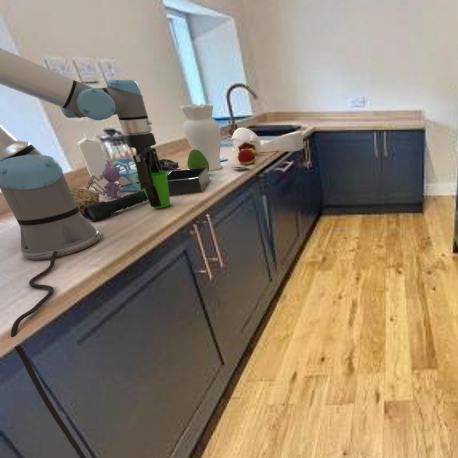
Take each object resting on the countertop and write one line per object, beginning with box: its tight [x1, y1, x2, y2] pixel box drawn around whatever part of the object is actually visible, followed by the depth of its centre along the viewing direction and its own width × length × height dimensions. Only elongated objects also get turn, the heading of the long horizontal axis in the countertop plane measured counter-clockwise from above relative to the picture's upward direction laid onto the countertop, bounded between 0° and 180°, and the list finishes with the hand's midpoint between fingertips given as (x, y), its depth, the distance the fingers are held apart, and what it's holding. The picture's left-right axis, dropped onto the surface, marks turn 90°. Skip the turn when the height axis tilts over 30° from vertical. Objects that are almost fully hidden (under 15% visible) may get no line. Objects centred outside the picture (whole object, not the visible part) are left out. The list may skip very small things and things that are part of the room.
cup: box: [135, 171, 171, 209], centre depth 117 cm, size 9×9×11 cm
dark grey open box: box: [167, 167, 211, 197], centre depth 139 cm, size 18×14×6 cm
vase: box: [178, 102, 222, 172], centre depth 162 cm, size 15×15×29 cm
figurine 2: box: [237, 141, 258, 166], centre depth 176 cm, size 9×10×15 cm
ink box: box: [117, 162, 139, 187], centre depth 148 cm, size 8×5×12 cm
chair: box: [112, 158, 142, 192], centre depth 138 cm, size 8×8×12 cm
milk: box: [76, 133, 116, 193], centre depth 137 cm, size 6×6×22 cm
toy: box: [220, 157, 228, 162], centre depth 184 cm, size 14×1×10 cm
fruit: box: [187, 149, 209, 172], centre depth 153 cm, size 8×8×12 cm
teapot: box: [230, 127, 261, 154], centre depth 188 cm, size 25×16×12 cm
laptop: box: [230, 165, 251, 170], centre depth 163 cm, size 7×6×2 cm
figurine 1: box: [102, 163, 121, 198], centre depth 131 cm, size 5×7×12 cm
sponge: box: [70, 187, 101, 215], centre depth 117 cm, size 13×8×20 cm
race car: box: [159, 158, 180, 169], centre depth 159 cm, size 15×7×4 cm, turn 173°
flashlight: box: [83, 189, 149, 222], centre depth 117 cm, size 5×21×5 cm, turn 162°
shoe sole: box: [257, 130, 305, 154], centre depth 202 cm, size 36×13×10 cm, turn 87°
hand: (160, 202), depth 119 cm, fingers closed on cup, 8 cm apart
